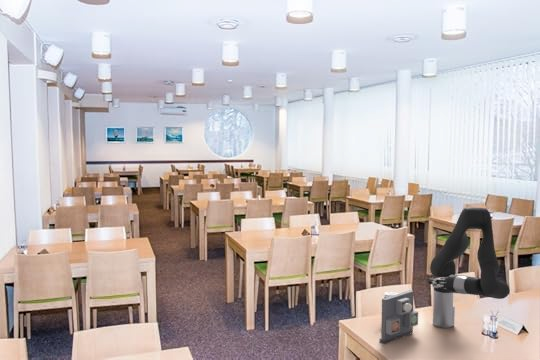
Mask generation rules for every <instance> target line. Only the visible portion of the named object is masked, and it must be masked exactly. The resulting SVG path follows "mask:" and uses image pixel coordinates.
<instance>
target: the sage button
mask: <svg viewBox="0 0 540 360" xmlns="http://www.w3.org/2000/svg"><path fill="white" fill-rule="evenodd" d="M416 321H417V317H416V316H415V315H412V316H411V323H412V324H415V323H416Z"/></svg>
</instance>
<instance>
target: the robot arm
mask: <svg viewBox="0 0 540 360" xmlns="http://www.w3.org/2000/svg"><path fill="white" fill-rule="evenodd" d="M468 230H481V232H482V240H481V242H480V245H478V250H477V261H478V264H479V265H478V266H479V268H480V277H478V276H477V277H476V276H467V275H460V274H456V262H455V260H456V259H459V258H460V257H462V256H463V255H464V254H465V252H467V249H468V247H469V246H470V240H469V237H468V235H467V231H468ZM429 270H430V273H431V275H432V276H433V277H436V278H432V277H431V278H428V279H427V283H428V285H432V287H433V292H432V293H433V298H432V299H433V300H432V302H433V303H432V304H433V305H432V325H434V326H435V327H438V328H443V329H444V328H445V329H446V328H452V327H455V317H456V316H455V315H456V314H455V313H456V312H455V309H456V308H455V306H454V294H460V295H472V296H482V297H487V298H492V299H497V300H501V299H502V300H503V299H505V298H507V297H508V296H509V295H510V286H509V285H508V284H507V282H505V281H503V280H500V279H498V278H497V277H496V275H498V274H499V273H500V271H501V268H500V264H499V261H498V257H497V254H496V248H495V242H494V231H493V223H492V217H491V213H490V211H489V210H488V209H487V208H485V207H478V206H477V207H475V206H473V207H472V206H468V207H467V206H466V207H464V208H463V209H462V211H461V212H460V214H459V217H458V218H457V221H456V223H455V226H454V227H453V229H452V231H451V233H450V234H449V235H448V237H447V239H446V240H445V242H444V243H443V246H442V247H441V249H440V250H439V251H438V252H437V254H436V255H435V256H434V257H433V258H432V260H431V262H430V266H429Z"/></svg>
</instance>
